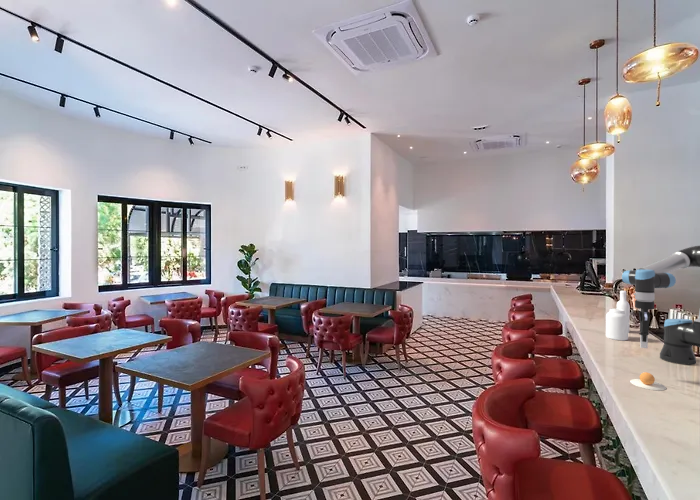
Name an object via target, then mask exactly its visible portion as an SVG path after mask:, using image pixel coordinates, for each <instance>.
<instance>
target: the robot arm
mask: <svg viewBox="0 0 700 500" xmlns="http://www.w3.org/2000/svg"><path fill="white" fill-rule="evenodd" d="M691 267H692V268H695V267H696V268H700V245H695V246H693V245H692V246H690V247H686V248H683V249H679V250H677V251H674V252H673V253H671V254H670V255H669V256H667V257H665V258H663V259H660V260H658V261H656V262H655V261H654V262H653V263H650V264H648V265H645V266H642V267H640V268H637V269H636V270H635V269H633V270H632V269H629V270H624V271H623V273H622V275H621V280H622V282H623V283H625V284H627V285H631V286H632V285H633V286H634V287H635V290H634V293H633V295H634V299H635V300H634V308H635V309H639V310H640V311H638V315H639V317H638V318H639V334H638V335H639V336H640V339H639V340H640V341H639V342H640V343H639V344H640V345H639V346H640V347H639V348H641V349H648V347H649V346H648V345H649V343H648V342H649V340H648V339H649V338H648V337H649V336H648V335H650V334H649V331H650V318H651V313H650V312H649V310H651V311H652V310H654V309H655V302H654V301H655V294H656V293H655V291H656V290H655V289H667V288H672V287H674V286H675V284H676V282H677V281H676V276H675V275H673V274H672V273H671V272H674V271H676V270H678V269H687V268H691ZM693 347H698V348H700V309H699V311H698V318H696V319H694V320H693V319H688V318H668V319H667V318H666V319H665V320H664V324H663V346H662V348H661V350H660V352H659V358H660V359H661V360H663V361H666V362H668V363H674V364H678V365H679V364H680V365H688V366H689V365H696V364H697V358H696V355H695V353H694V350H693Z"/></svg>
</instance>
